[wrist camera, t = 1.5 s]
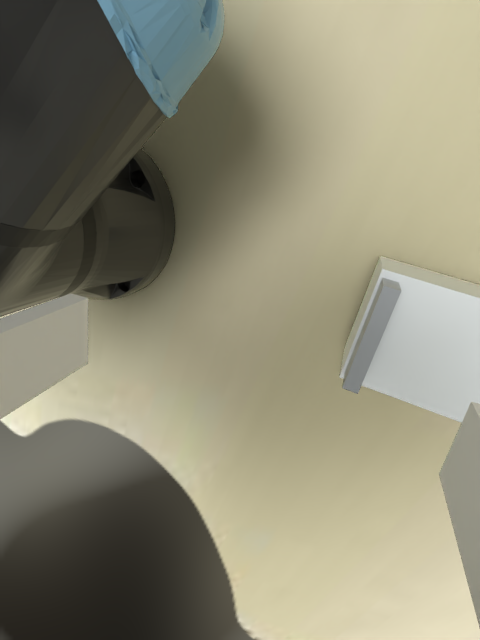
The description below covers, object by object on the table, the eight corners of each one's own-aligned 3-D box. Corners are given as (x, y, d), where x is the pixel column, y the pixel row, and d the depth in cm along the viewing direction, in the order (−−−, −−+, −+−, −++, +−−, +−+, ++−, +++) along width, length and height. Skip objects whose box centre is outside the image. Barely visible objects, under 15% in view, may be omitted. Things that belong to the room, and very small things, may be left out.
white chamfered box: (345, 343, 33) (336, 393, 24) (379, 254, 30) (383, 276, 21) (466, 386, 31) (502, 456, 22) (517, 294, 28) (580, 336, 19)
